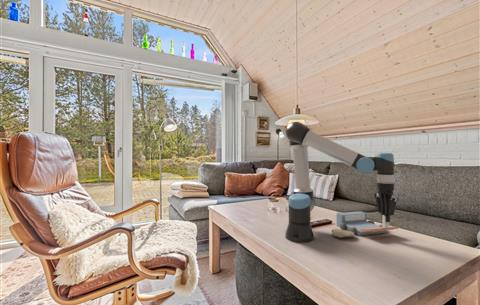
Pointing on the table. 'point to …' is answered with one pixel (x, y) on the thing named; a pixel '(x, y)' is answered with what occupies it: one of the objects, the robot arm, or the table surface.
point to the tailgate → (379, 229)
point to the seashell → (342, 233)
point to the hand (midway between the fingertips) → (385, 227)
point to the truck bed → (356, 223)
